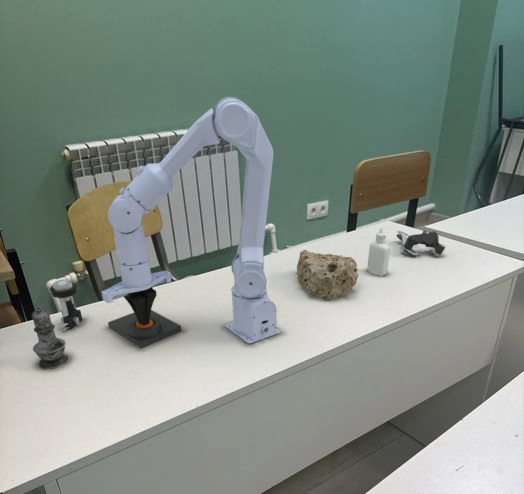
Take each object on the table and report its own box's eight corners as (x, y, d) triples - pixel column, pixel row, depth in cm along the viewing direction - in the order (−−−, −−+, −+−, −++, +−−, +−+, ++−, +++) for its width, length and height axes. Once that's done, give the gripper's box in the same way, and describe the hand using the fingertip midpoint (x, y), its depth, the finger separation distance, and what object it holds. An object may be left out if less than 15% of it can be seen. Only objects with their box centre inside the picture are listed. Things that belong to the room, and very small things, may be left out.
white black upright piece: (74, 334, 102) (63, 291, 97) (51, 332, 103) (39, 289, 98) (89, 319, 108) (79, 278, 103) (67, 318, 109) (57, 277, 104)
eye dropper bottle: (381, 268, 131) (386, 225, 125) (388, 276, 127) (394, 231, 120) (365, 269, 131) (370, 226, 125) (372, 277, 126) (377, 232, 120)
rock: (287, 275, 130) (295, 239, 126) (336, 283, 133) (346, 248, 130) (304, 299, 112) (315, 257, 108) (361, 308, 115) (373, 267, 111)
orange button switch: (181, 331, 102) (180, 318, 101) (141, 348, 96) (139, 335, 95) (147, 312, 110) (145, 300, 109) (108, 327, 104) (106, 314, 103)
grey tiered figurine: (37, 357, 94) (20, 302, 88) (68, 350, 96) (54, 296, 90) (37, 372, 90) (20, 315, 83) (70, 365, 92) (55, 309, 85)
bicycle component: (394, 233, 150) (397, 251, 138) (406, 213, 146) (410, 229, 134) (428, 249, 151) (434, 268, 138) (441, 229, 147) (448, 246, 134)
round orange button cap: (157, 330, 100) (156, 322, 99) (142, 336, 98) (141, 328, 97) (148, 324, 102) (146, 317, 101) (133, 330, 100) (132, 323, 99)
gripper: (153, 246, 99) (162, 306, 106) (88, 265, 90) (102, 328, 97) (174, 254, 94) (181, 315, 101) (107, 275, 86) (120, 340, 93)
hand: (144, 323), depth 99 cm, fingers closed, pressing on round orange button cap
